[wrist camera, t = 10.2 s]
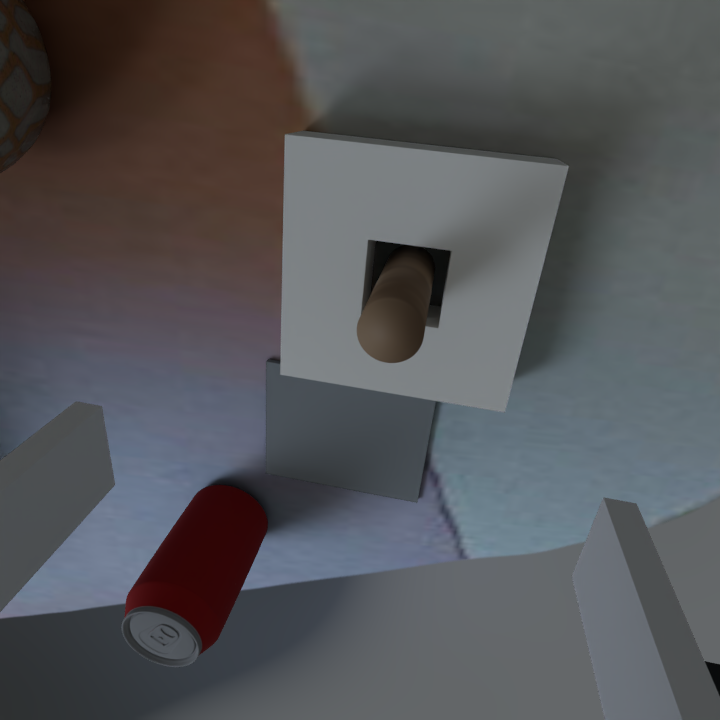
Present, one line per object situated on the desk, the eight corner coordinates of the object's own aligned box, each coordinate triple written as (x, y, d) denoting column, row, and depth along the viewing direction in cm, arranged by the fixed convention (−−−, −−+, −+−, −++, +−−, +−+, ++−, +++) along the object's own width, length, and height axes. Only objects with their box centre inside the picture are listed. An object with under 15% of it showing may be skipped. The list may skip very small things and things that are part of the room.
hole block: (296, 351, 36) (280, 374, 33) (303, 130, 29) (284, 134, 26) (501, 384, 34) (504, 412, 31) (557, 158, 28) (568, 166, 25)
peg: (384, 288, 33) (354, 357, 24) (388, 241, 31) (359, 296, 22) (431, 294, 32) (419, 367, 23) (438, 247, 31) (428, 305, 22)
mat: (267, 470, 41) (265, 473, 41) (268, 359, 36) (266, 361, 36) (417, 499, 40) (417, 502, 39) (438, 387, 35) (437, 390, 35)
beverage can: (181, 506, 45) (94, 631, 34) (222, 464, 42) (141, 588, 31) (242, 551, 46) (176, 686, 35) (287, 514, 43) (229, 649, 32)
